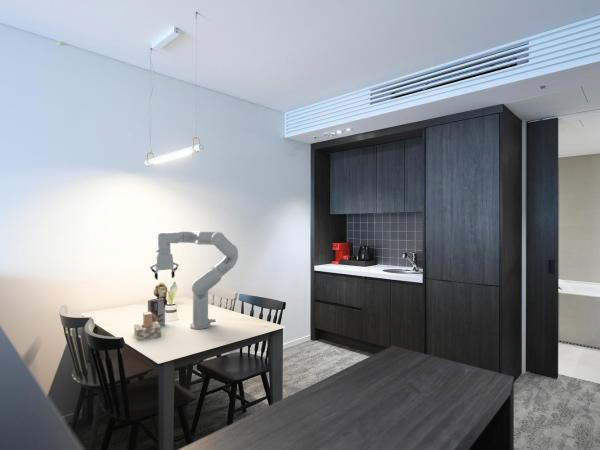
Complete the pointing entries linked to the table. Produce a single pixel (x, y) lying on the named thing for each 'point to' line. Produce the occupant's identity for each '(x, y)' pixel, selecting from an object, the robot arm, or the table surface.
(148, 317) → the terracotta peg
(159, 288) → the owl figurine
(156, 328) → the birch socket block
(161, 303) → the coffee box
